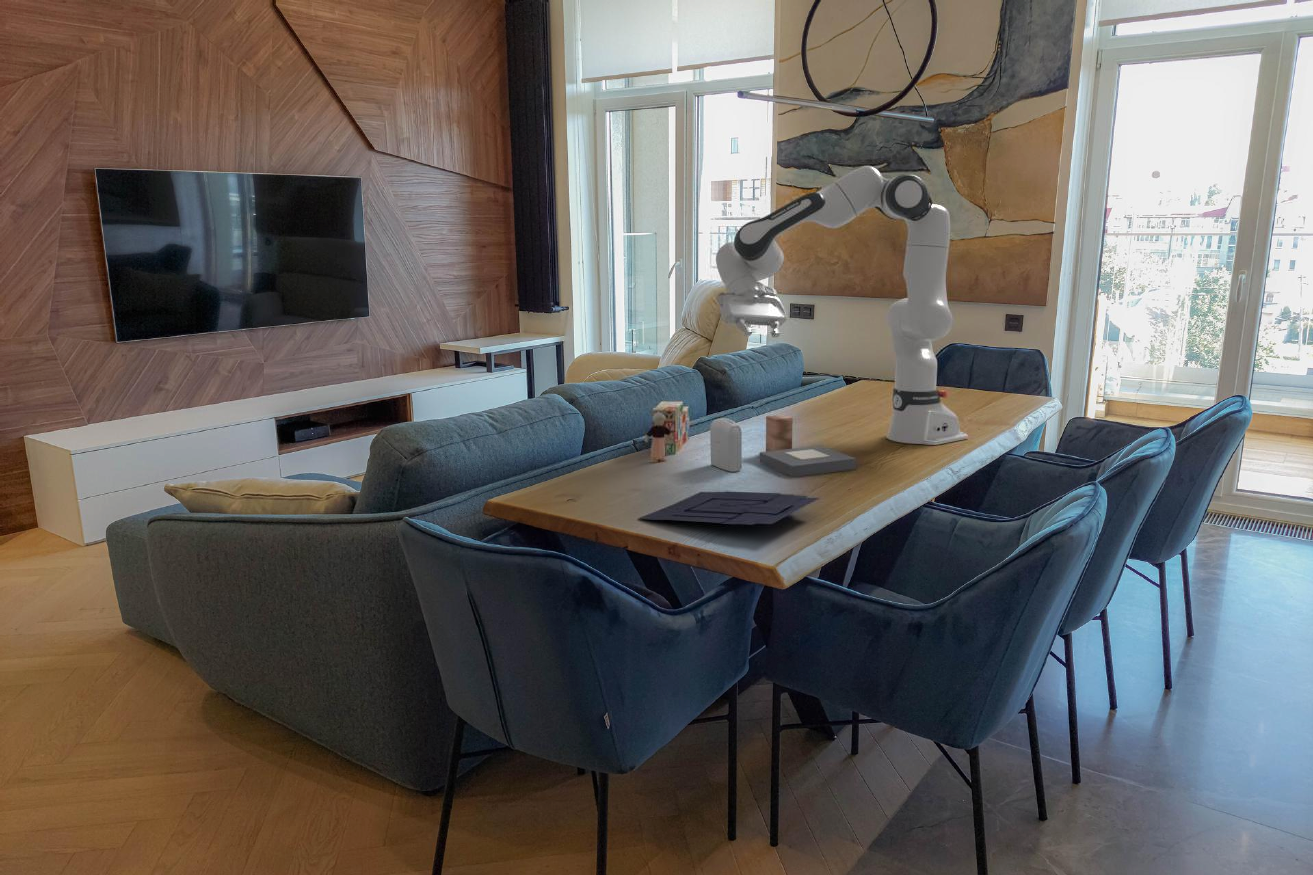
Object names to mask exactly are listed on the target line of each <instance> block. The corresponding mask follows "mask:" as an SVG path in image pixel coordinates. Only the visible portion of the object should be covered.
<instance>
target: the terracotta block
mask: <svg viewBox="0 0 1313 875" xmlns="http://www.w3.org/2000/svg"><path fill="white" fill-rule="evenodd" d="M793 422H794V421H793V417H791V416H788V415H784V414H778V415H777V414H776V415H767V416H766V417H765V452H767V451H776V450H785V449H793Z"/></svg>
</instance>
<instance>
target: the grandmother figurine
mask: <svg viewBox="0 0 1313 875" xmlns="http://www.w3.org/2000/svg"><path fill="white" fill-rule="evenodd" d="M653 421H654V424H655V425H656V426H653V425H652V426H651V427H650V429H649V430H648V432H647V433H646V436H645V438H644V442H645V443H648V442H649V440H650V438H651V437H652V438H651V446H650V460H649V462H650V463H658V461H659V462H667V460H668V459H667V458H666V454H665V436H664V435H665V434H666V435H668V436H669V439H672V438H673V436H672V434H671V431H670V430H669V429H668V428H667V427H665V426H662V425H663V423H664V421H665V416H664V415H663V414H662V413H659V412H658V413H655V414H654V416H653V415H652V422H653Z"/></svg>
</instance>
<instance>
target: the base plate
mask: <svg viewBox="0 0 1313 875" xmlns="http://www.w3.org/2000/svg"><path fill="white" fill-rule="evenodd" d="M759 464H761V465H764V466H766V467H768V468H771V469H772V470H775V471H777V472H780V473H782V474H784V475H786V476H789V477H791V478H797V477H803V476H811V475H821V474H828V473H837V472H845V471H851V470H853V471H854V470H857V458H856V457H853V456H851V455H848V454H846V453H842V452H840V451H837V450H835V449H831V448H829V447H826V446H823V445H814V446H813V445H811V446H805V447H804V446H803V447H795V448H792V449H785V450H776V451H767V452H766V451H760V452H759Z"/></svg>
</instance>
